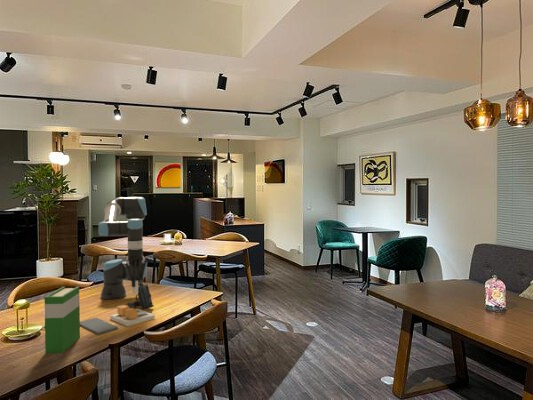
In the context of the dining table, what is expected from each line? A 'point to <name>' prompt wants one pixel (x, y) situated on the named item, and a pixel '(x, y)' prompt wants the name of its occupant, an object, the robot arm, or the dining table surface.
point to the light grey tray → (140, 318)
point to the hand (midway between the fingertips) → (135, 292)
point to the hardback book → (62, 319)
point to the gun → (142, 297)
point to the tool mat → (97, 325)
